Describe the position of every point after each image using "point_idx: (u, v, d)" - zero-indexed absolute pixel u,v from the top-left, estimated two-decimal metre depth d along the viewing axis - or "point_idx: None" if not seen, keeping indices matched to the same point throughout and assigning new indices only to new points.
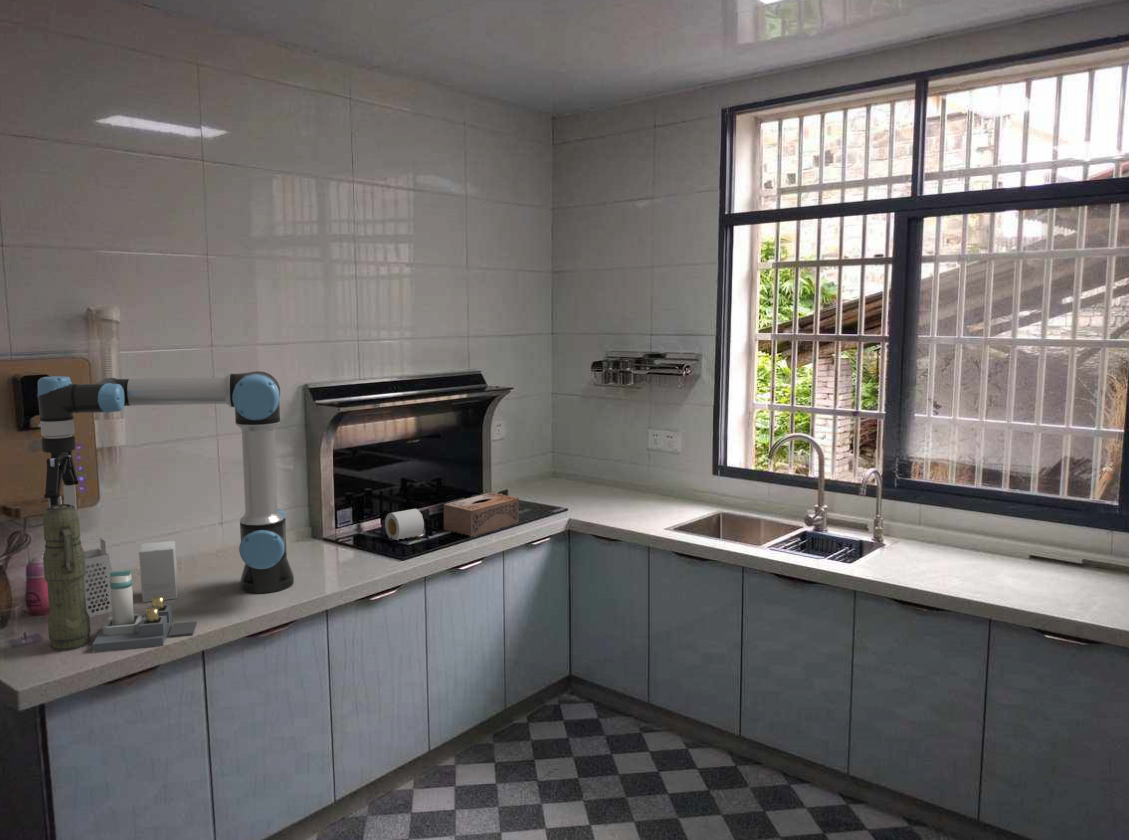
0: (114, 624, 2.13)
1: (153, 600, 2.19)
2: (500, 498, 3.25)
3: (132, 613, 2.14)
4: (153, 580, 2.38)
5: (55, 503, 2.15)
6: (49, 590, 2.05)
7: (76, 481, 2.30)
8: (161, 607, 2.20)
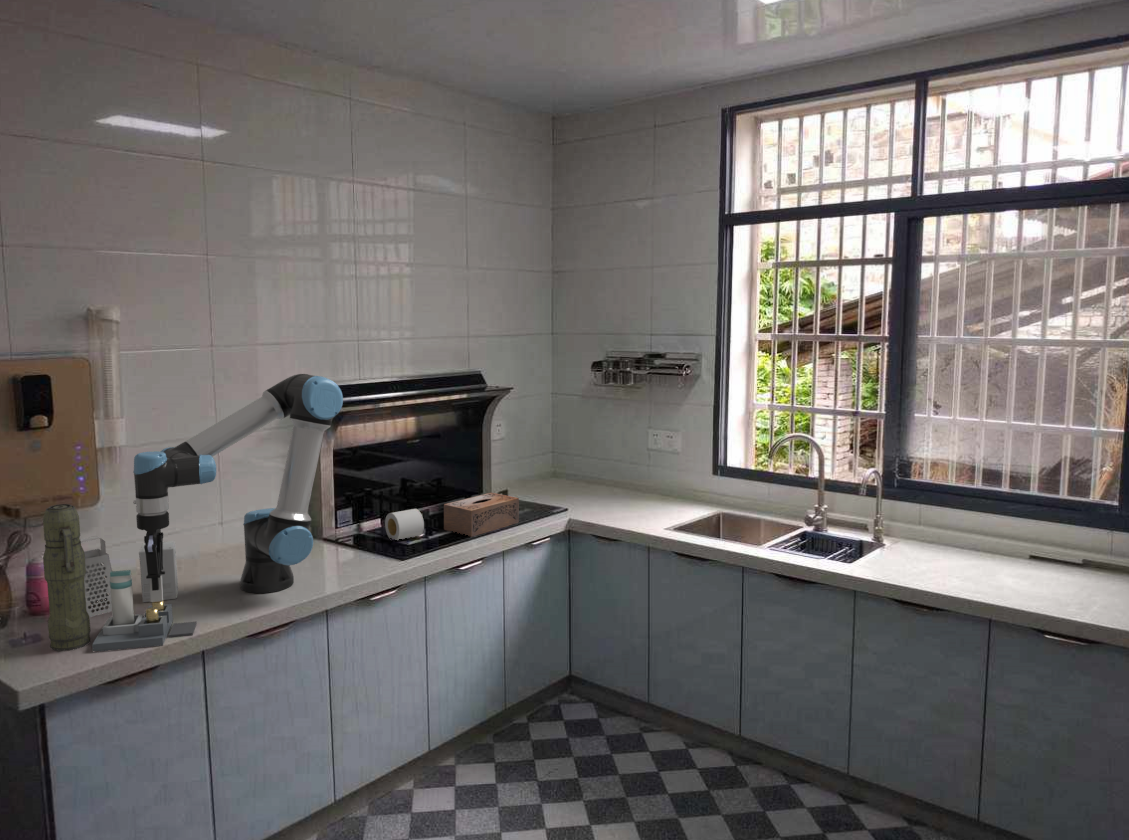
0: (114, 624, 2.13)
1: (153, 604, 2.19)
2: (500, 498, 3.25)
3: (132, 613, 2.14)
4: None
5: (156, 583, 2.18)
6: (49, 590, 2.05)
7: (163, 571, 2.21)
8: None
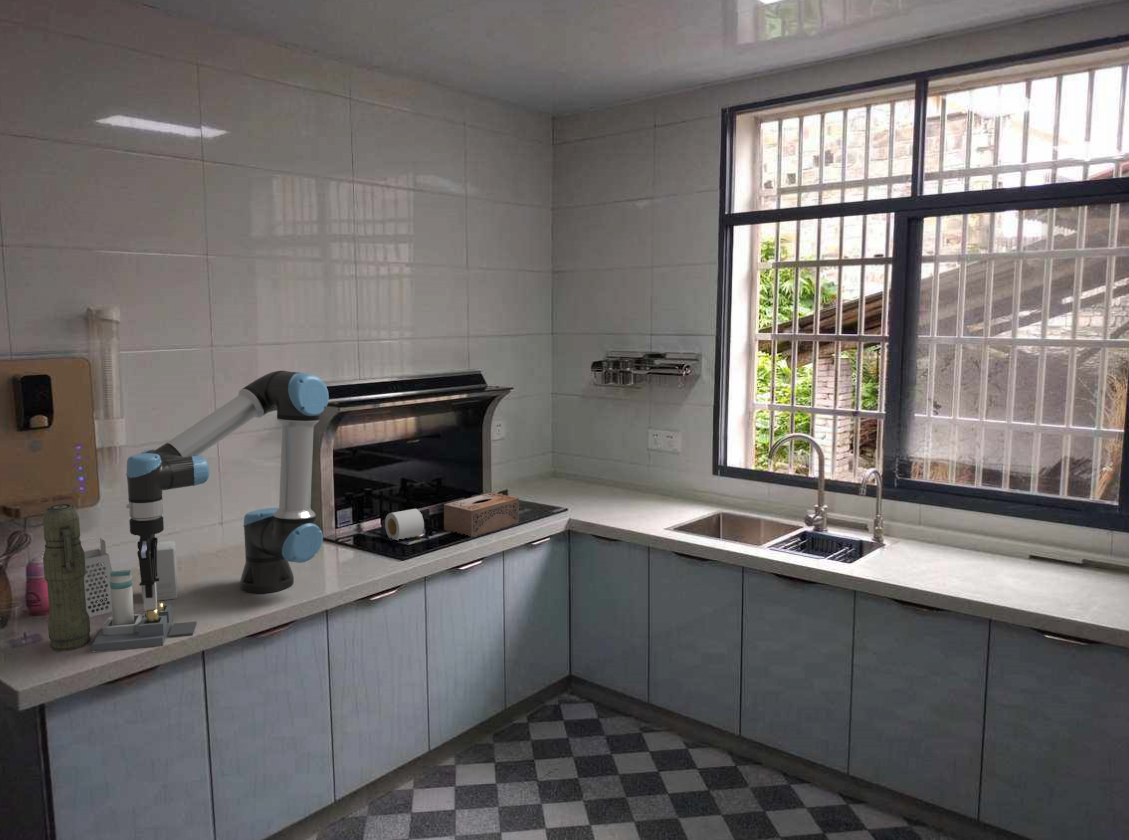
0: (114, 624, 2.13)
1: None
2: (500, 498, 3.25)
3: (132, 613, 2.14)
4: None
5: (150, 591, 2.09)
6: (49, 590, 2.05)
7: (157, 578, 2.13)
8: None
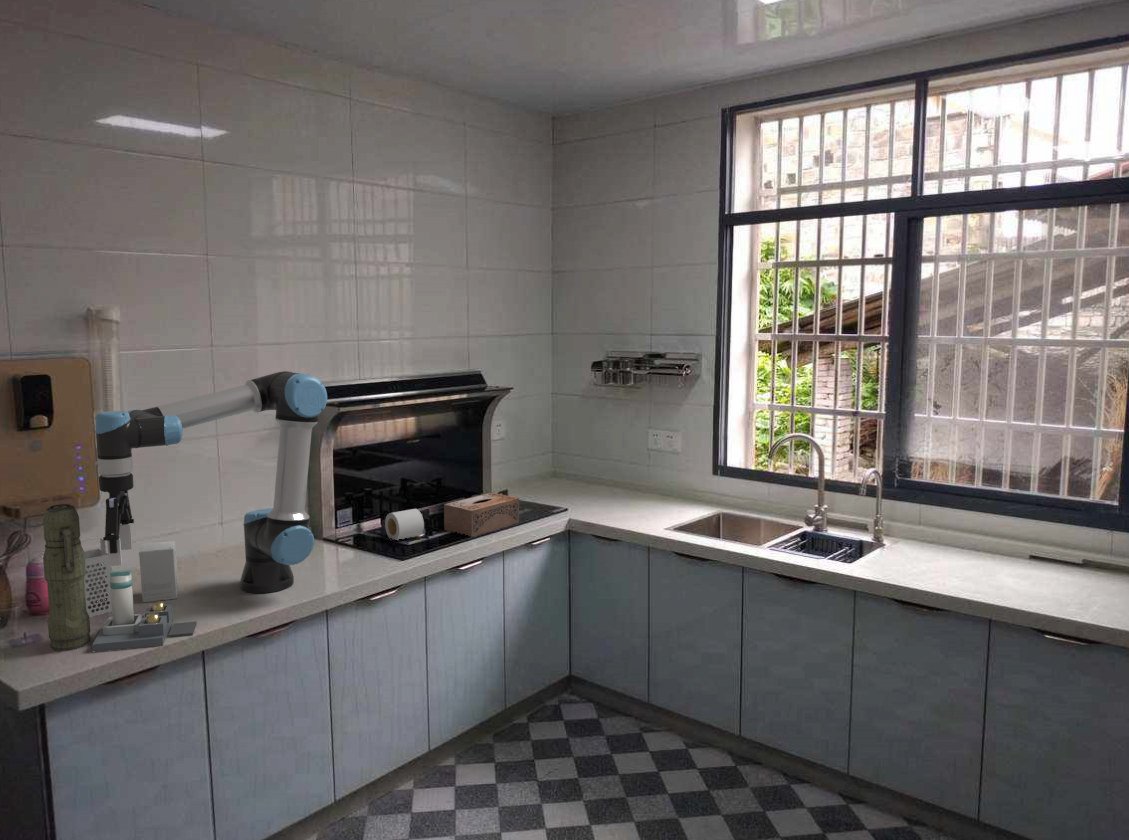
0: (114, 624, 2.13)
1: (153, 605, 2.19)
2: (500, 498, 3.25)
3: (132, 613, 2.14)
4: (153, 580, 2.38)
5: (114, 546, 2.03)
6: (49, 590, 2.05)
7: (131, 520, 2.19)
8: None
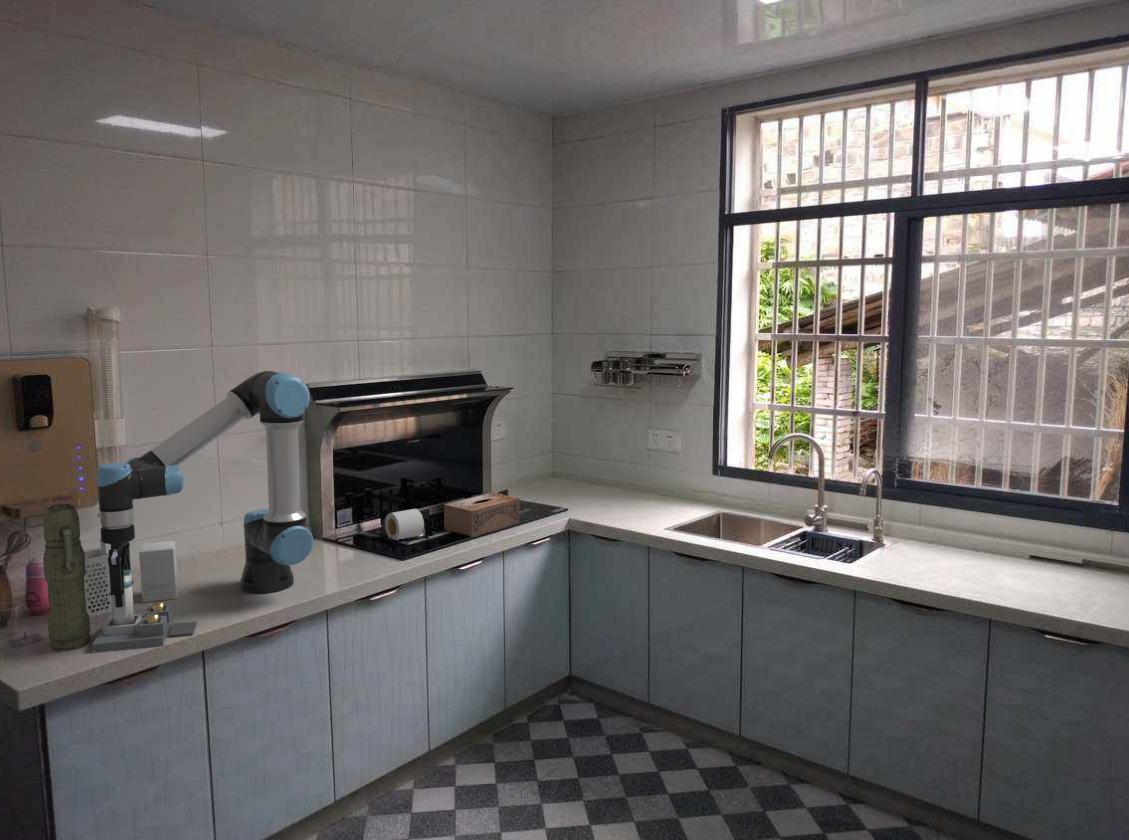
0: (114, 624, 2.13)
1: (153, 605, 2.19)
2: (501, 498, 3.25)
3: (132, 613, 2.14)
4: (153, 580, 2.38)
5: (120, 600, 2.10)
6: (49, 590, 2.05)
7: None
8: None
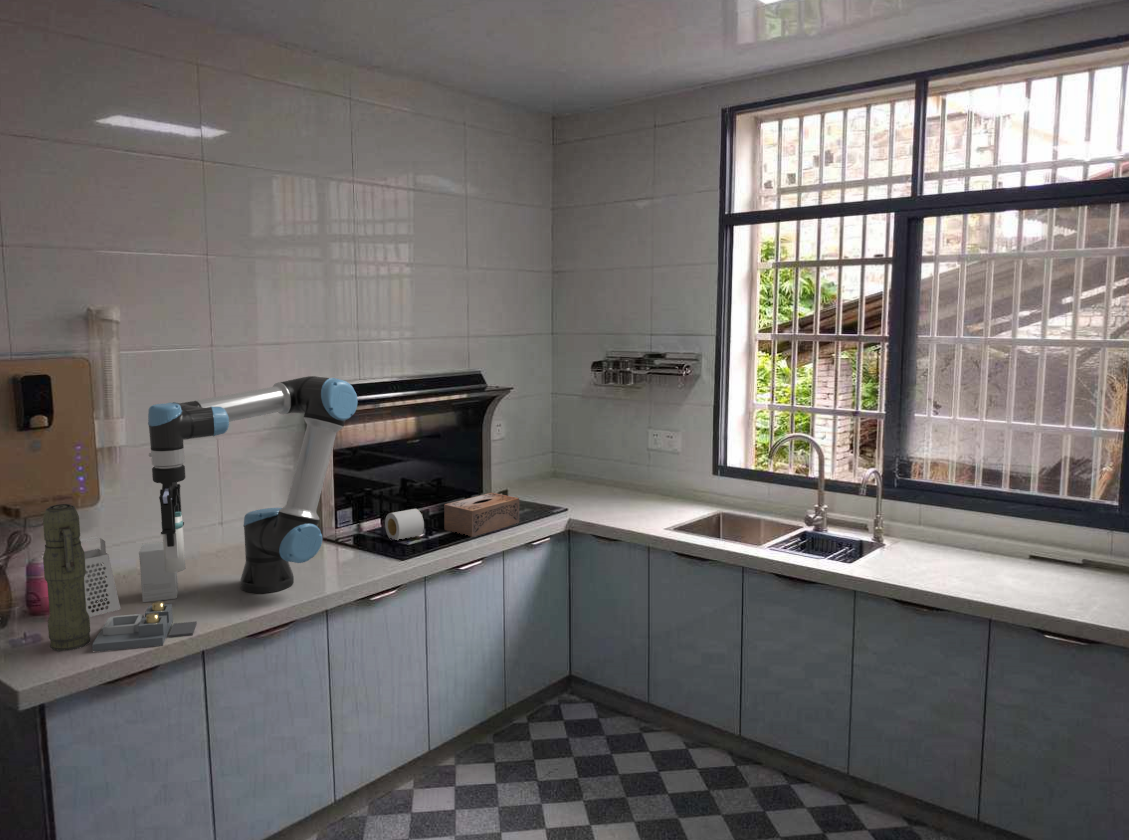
0: (166, 565, 2.14)
1: (153, 605, 2.19)
2: (501, 498, 3.25)
3: (183, 554, 2.16)
4: (153, 580, 2.38)
5: (171, 539, 2.11)
6: (49, 590, 2.05)
7: None
8: None
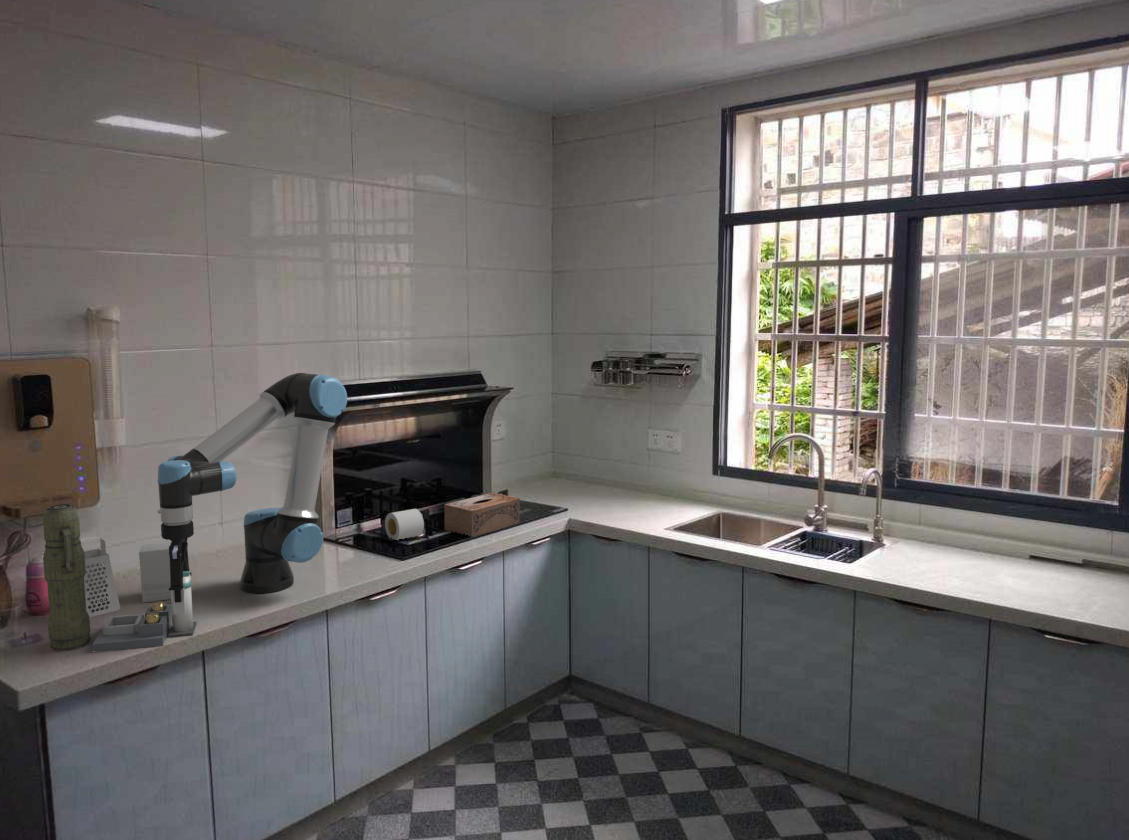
0: (174, 624, 2.17)
1: (153, 605, 2.19)
2: (501, 498, 3.25)
3: (191, 613, 2.18)
4: (153, 580, 2.38)
5: (179, 595, 2.12)
6: (49, 590, 2.05)
7: None
8: None
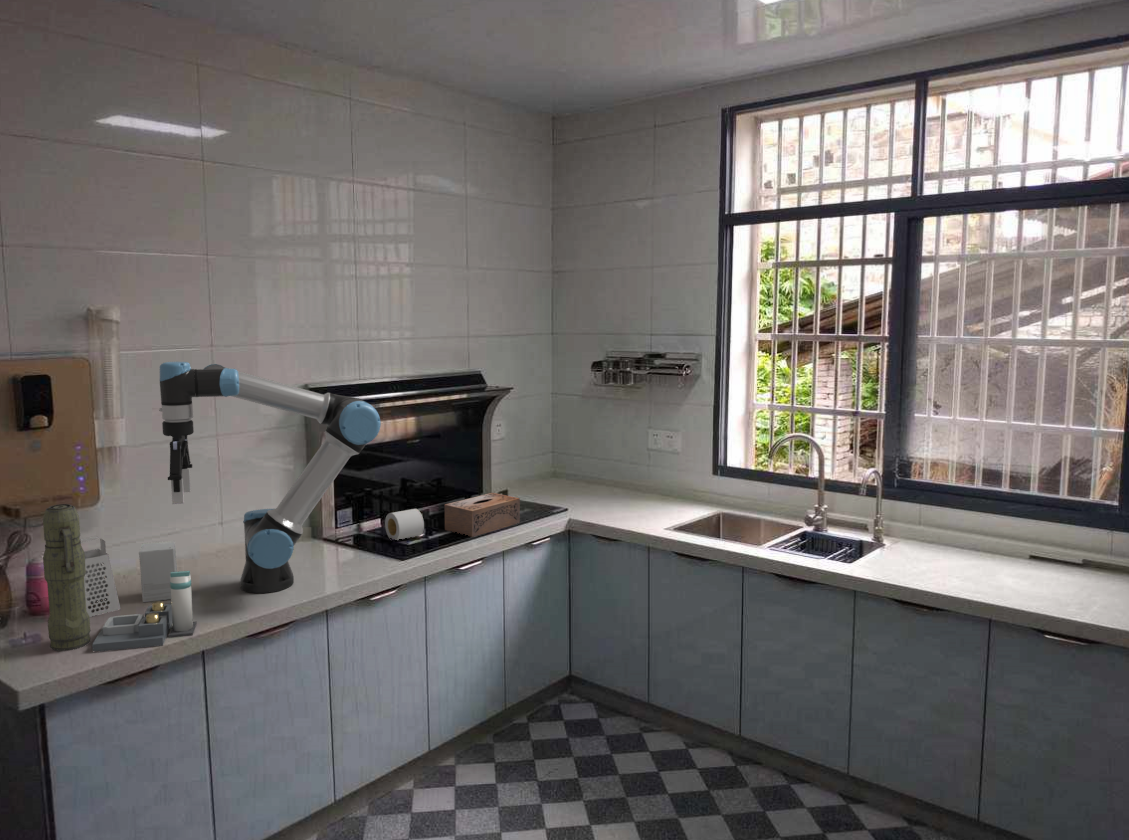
0: (174, 624, 2.17)
1: (153, 605, 2.19)
2: (501, 498, 3.25)
3: (191, 613, 2.18)
4: (153, 580, 2.38)
5: (178, 485, 2.20)
6: (49, 590, 2.05)
7: (190, 465, 2.35)
8: None
